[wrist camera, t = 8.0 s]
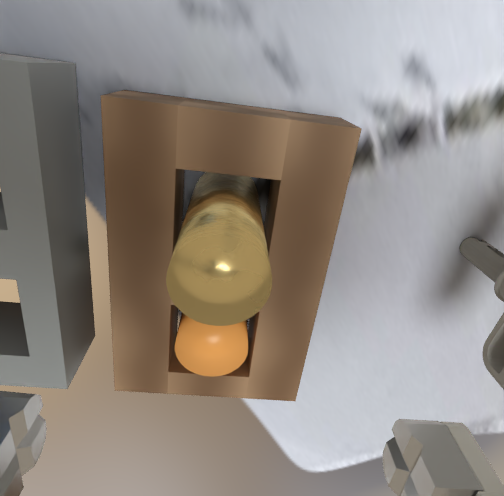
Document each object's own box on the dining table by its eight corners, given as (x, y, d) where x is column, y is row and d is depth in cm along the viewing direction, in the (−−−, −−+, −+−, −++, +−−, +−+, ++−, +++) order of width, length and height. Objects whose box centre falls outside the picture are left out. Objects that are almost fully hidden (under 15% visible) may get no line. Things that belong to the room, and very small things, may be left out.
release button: (180, 337, 26) (173, 374, 23) (183, 284, 24) (176, 316, 21) (242, 341, 27) (243, 378, 24) (250, 289, 25) (252, 322, 22)
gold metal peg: (191, 224, 24) (164, 321, 15) (195, 162, 22) (167, 229, 13) (253, 231, 24) (264, 329, 15) (262, 170, 22) (280, 241, 13)
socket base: (130, 348, 28) (114, 390, 24) (124, 90, 20) (100, 95, 17) (287, 359, 29) (295, 401, 25) (340, 117, 21) (361, 128, 18)
